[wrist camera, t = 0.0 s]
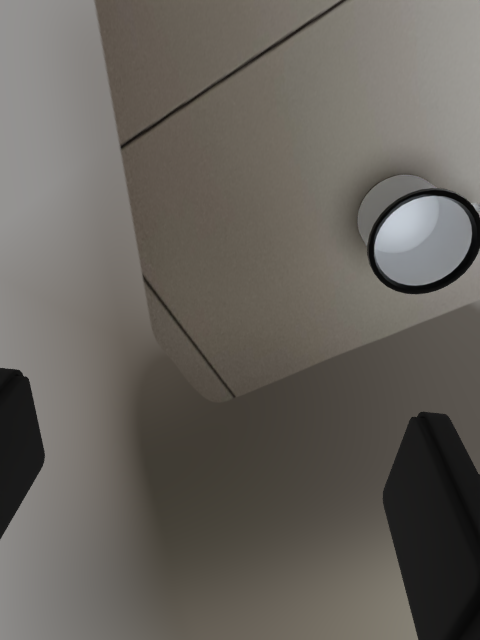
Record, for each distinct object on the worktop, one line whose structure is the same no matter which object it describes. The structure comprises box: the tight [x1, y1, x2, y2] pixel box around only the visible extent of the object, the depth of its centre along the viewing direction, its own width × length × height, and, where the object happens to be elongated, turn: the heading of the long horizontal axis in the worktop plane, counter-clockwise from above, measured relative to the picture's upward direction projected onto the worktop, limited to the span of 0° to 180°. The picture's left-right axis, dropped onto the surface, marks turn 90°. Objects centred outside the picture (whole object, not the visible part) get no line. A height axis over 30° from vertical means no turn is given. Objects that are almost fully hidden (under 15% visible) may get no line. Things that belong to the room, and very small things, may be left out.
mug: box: [357, 174, 480, 294], centre depth 40 cm, size 12×10×9 cm
